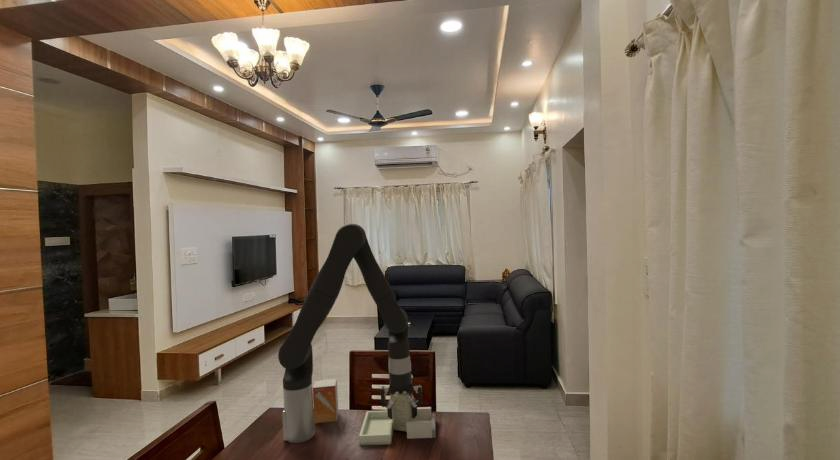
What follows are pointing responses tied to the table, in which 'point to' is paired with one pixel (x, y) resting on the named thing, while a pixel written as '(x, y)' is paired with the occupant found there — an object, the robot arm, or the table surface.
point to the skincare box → (401, 411)
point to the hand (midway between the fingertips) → (402, 417)
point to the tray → (376, 429)
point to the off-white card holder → (422, 424)
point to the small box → (325, 401)
